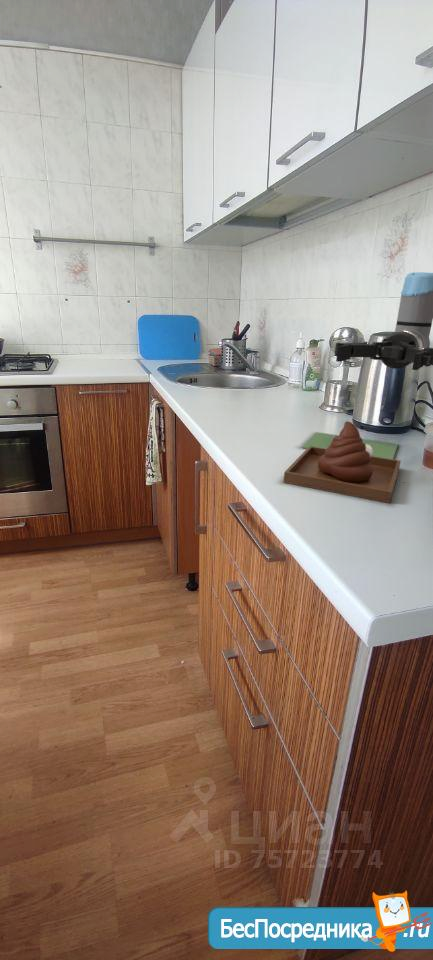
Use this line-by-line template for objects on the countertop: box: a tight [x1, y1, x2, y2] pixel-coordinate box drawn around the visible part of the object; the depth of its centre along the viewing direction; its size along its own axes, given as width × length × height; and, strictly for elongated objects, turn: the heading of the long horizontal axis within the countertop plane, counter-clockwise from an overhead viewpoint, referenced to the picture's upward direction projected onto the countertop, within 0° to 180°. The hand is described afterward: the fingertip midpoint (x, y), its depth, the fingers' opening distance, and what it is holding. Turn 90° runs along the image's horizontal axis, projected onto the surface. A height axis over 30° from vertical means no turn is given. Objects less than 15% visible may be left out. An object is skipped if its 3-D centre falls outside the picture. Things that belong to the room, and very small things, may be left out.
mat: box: [301, 432, 399, 459], centre depth 100 cm, size 18×13×1 cm
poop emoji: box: [318, 421, 373, 482], centre depth 81 cm, size 10×8×9 cm
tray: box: [283, 446, 402, 504], centre depth 83 cm, size 17×17×2 cm
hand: (375, 357), depth 83 cm, fingers open, 13 cm apart
